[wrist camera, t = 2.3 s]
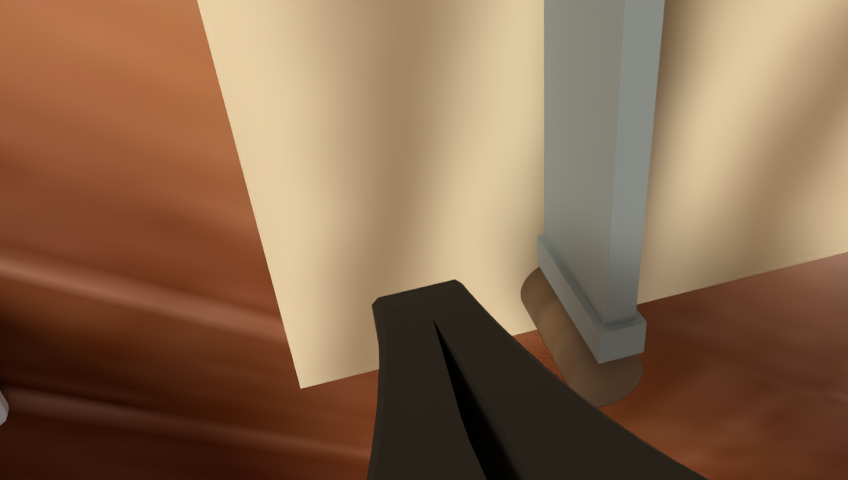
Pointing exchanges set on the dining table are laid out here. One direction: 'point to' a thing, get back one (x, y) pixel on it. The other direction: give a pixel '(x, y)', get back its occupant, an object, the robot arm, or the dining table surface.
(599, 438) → the robot arm
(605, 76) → the grey flat bar
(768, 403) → the dining table surface
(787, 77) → the beige base plate
